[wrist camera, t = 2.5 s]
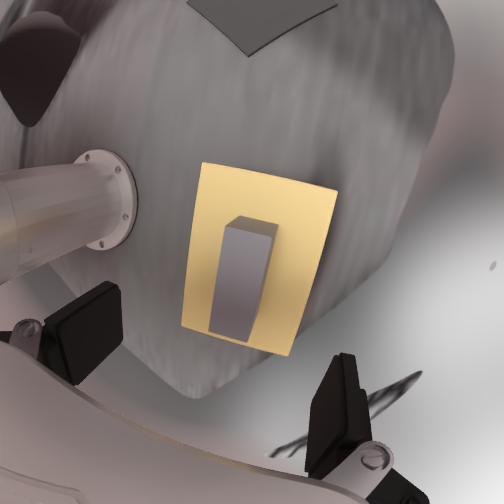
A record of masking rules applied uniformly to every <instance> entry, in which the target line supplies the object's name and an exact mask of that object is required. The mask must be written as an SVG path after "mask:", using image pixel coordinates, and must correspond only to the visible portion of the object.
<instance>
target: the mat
mask: <svg viewBox="0 0 504 504" xmlns="http://www.w3.org/2000/svg"><path fill="white" fill-rule="evenodd" d="M187 3H188V4H189V5H190V6H191V7H193V8H194V9H195V10H196V11H198V12H199V13H200V14H201V15H203V16H204V17H205V18H206V19H207V20H209V21H210V22H211V23H212V24H213V25H214V26H216V27H217V28H218V29H219V30H220V31H221V32H222V33H224V34H225V35H226V36H227V37H228V38H229V39H230V40H231V41H232V42H233V43H234V44H236V45H237V46H238V47H239V48H240V49H241V50H242V51H243V52H244V53H245V54H246V55H247V56H248V57H249V56H251V55H252V54H254V53H255V52H257V51H258V50H260V49H261V48H263V47H264V46H266V45H267V44H269V43H270V42H272V41H273V40H275V39H277V38H278V37H280V36H282V35H283V34H285V33H286V32H288V31H290V30H292V29H293V28H295V27H297V26H299V25H300V24H302V23H304V22H306V21H308V20H309V19H311V18H313V17H315V16H317V15H319V14H321V13H323V12H325V11H327V10H329V9H331V8H333V7H335V6H337V5H338V4H337V3H336V2H335V1H334V0H188V1H187Z"/></svg>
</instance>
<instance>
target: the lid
mask: <svg viewBox="0 0 504 504" xmlns="http://www.w3.org/2000/svg"><path fill="white" fill-rule="evenodd" d="M337 193H338V191H336V190H332V189H329V188H325V187H321V186H317V185H313V184H309V183H305V182H301V181H297V180H293V179H288V178H284V177H279V176H275V175H270V174H266V173H261V172H256V171H251V170H246V169H241V168H236V167H230V166H225V165H219V164H213V163H207V162H202V168H201V173H200V179H199V185H198V191H197V198H196V204H195V210H194V217H193V224H192V231H191V239H190V247H189V255H188V263H187V272H186V281H185V290H184V301H183V312H182V324H181V326H183V327H186V328H189V329H192V330H195V331H198V332H201V333H205V334H208V335H211V336H214V337H217V338H221V339H224V340H227V341H231V342H234V343H238V344H241V345H245V346H249V347H252V348H256V349H260V350H264V351H267V352H271V353H275V354H279V355H284V356H288V355H289V352H290V350H291V347H292V344H293V341H294V338H295V336H296V333H297V330H298V327H299V324H300V321H301V318H302V315H303V312H304V309H305V306H306V303H307V300H308V297H309V293H310V290H311V287H312V284H313V280H314V277H315V274H316V271H317V267H318V264H319V260H320V257H321V253H322V250H323V246H324V243H325V239H326V236H327V232H328V228H329V224H330V221H331V217H332V213H333V209H334V205H335V201H336V197H337Z"/></svg>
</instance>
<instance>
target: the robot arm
mask: <svg viewBox="0 0 504 504" xmlns="http://www.w3.org/2000/svg"><path fill="white" fill-rule="evenodd" d="M136 211H137V193H136V187H135V183H134V179H133V177H132V174H131V172H130V170H129V168H128V167H127V165H126V163H125V162H124V161H123V160H122V159H121V158H120V157H119V156H118V155H116V154H115V153H113V152H111V151H108V150H100V149H98V150H90V151H87V152H85V153H84V154H82V155H81V156H79V157H78V158H77V159H76V160H75V161H74V163H73V164H62V165H51V166H42V167H33V168H26V169H18V170H11V171H5V172H0V285H2V284H4V283H6V282H8V281H10V280H12V279H14V278H16V277H18V276H20V275H22V274H24V273H25V272H28V271H30V270H32V269H34V268H36V267H38V266H40V265H43V264H45V263H47V262H49V261H51V260H53V259H55V258H58V257H60V256H62V255H64V254H67V253H69V252H71V251H73V250H76V249H78V248H80V247H83V246H85V245H86V246H87V247H89V248H91V249H94V250H108V249H111V248H113V247H115V246H117V245H118V244H120V243H121V242H122V241H123V240H124V239H125V238H126V237H127V236H128V234H129V232H130V231H131V229H132V226H133V223H134V221H135V216H136ZM44 322H45V325H44V326H43V327H42V324H41V323H40V322H39V321H38V320H35V319H24V320H22V321H20V322H18V323H17V324H16V325H15V327H14V329H13V331H0V504H430V503H429V499H428V497H427V496H426V495H425V494H424V492H422V491H421V490H420V489H418V488H417V487H416V486H414V485H413V484H412V483H411V482H409V481H408V480H407V479H405V478H404V477H403V476H402V475H400V474H399V473H398V472H397V471H395V470H394V469H393V468H392V466H393V463H394V457H393V453H392V451H391V450H390V449H389V448H388V447H387V446H386V445H385V444H383V443H381V442H377V441H372V432H371V423H370V416H369V408H368V401H367V395H366V391H365V390H364V389H360V386H359V378H358V371H357V365H356V359H355V356H354V355H352V354H347V353H340V354H339V356H338V355H335V356H334V357H333V360H332V362H331V364H330V366H329V368H328V370H327V372H326V374H325V376H324V378H323V380H322V382H321V384H320V386H319V388H318V390H317V392H316V394H315V396H314V398H313V399H312V403H311V407H310V421H309V432H308V442H307V453H306V461H305V472H308V477H303V476H299V475H294V474H289V473H285V472H280V471H275V470H270V469H266V468H262V467H258V466H254V465H250V464H246V463H242V462H239V461H235V460H231V459H228V458H225V457H221V456H218V455H215V454H212V453H209V452H206V451H203V450H200V449H197V448H194V447H192V446H189V445H186V444H184V443H181V442H179V441H176V440H174V439H171V438H169V437H167V436H164V435H162V434H160V433H157V432H155V431H153V430H151V429H149V428H146V427H144V426H142V425H140V424H138V423H136V422H134V421H132V420H130V419H128V418H126V417H124V416H122V415H121V414H119V413H117V412H115V411H113V410H111V409H109V408H108V407H106V406H104V405H103V404H101V403H99V402H97V401H96V400H94V399H92V398H91V397H89V396H88V395H86V394H85V393H83V392H81V391H80V390H78V389H77V388H75V387H74V386H75V385H79V384H80V383H81V382H82V381H83V380H84V379H85V378H86V377H87V376H88V375H89V374H90V373H91V372H92V371H93V370H94V369H95V368H96V367H97V366H98V365H99V364H100V363H101V362H102V361H103V360H104V359H105V358H106V357H107V356H108V355H109V354H110V353H112V352H113V351H114V350H115V349H116V348H117V347H118V346H119V345H120V344H121V342H122V340H123V327H122V310H121V291H120V289H119V287H118V285H116V284H114V283H112V282H109V281H104V282H103V283H101V284H99V285H98V286H96V287H95V288H93V289H91V290H90V291H88V292H86V293H85V294H83V295H82V296H80V297H78V298H77V299H75V300H74V301H72V302H71V303H69V304H67V305H66V306H64V307H63V308H61V309H60V310H58V311H57V312H55V313H53V314H52V315H50V316H49V317H47V318H46V319H44Z"/></svg>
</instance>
